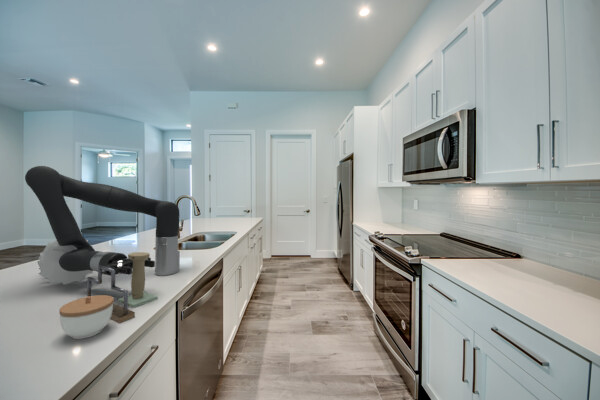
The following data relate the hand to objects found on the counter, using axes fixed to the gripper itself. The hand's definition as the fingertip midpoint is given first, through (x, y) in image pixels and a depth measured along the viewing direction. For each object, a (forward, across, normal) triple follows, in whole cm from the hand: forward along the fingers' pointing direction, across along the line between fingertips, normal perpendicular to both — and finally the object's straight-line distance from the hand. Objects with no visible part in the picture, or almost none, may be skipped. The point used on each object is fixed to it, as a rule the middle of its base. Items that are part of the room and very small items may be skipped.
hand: (143, 267), depth 83 cm
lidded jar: (+4, -19, +12) cm, 23 cm away
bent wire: (-4, -9, +12) cm, 15 cm away
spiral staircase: (-49, +6, +12) cm, 50 cm away
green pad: (-2, 0, +12) cm, 12 cm away
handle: (-2, 0, +11) cm, 11 cm away
